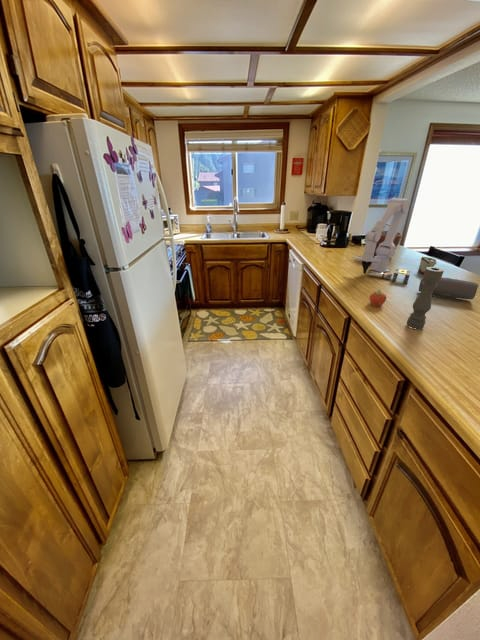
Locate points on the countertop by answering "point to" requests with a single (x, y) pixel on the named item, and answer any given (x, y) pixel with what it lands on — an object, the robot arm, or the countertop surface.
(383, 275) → the tube
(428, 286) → the candle holder
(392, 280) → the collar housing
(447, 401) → the countertop surface
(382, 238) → the bucket
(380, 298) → the tomato
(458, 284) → the bluetooth speaker
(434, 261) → the food container
